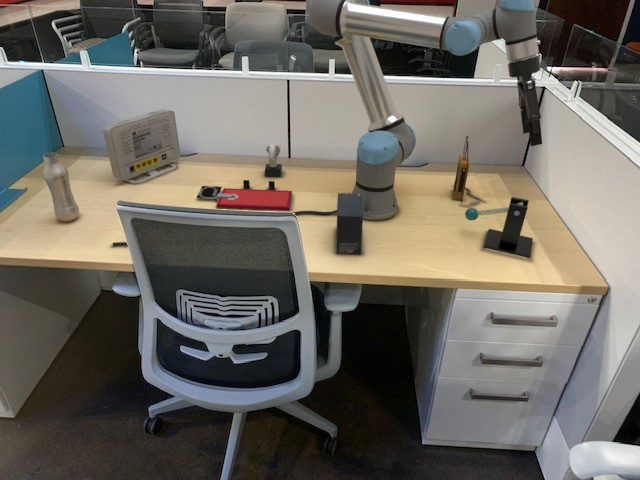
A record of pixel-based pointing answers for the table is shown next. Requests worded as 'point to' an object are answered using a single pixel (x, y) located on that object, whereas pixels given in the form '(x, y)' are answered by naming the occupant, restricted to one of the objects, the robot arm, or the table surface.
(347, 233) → the small box
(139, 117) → the network device
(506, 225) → the lever base
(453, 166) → the table surface
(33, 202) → the table surface
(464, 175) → the multimeter
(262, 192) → the red board with handle
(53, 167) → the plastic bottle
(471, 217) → the ball knob joystick
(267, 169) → the white figurine
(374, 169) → the robot arm
